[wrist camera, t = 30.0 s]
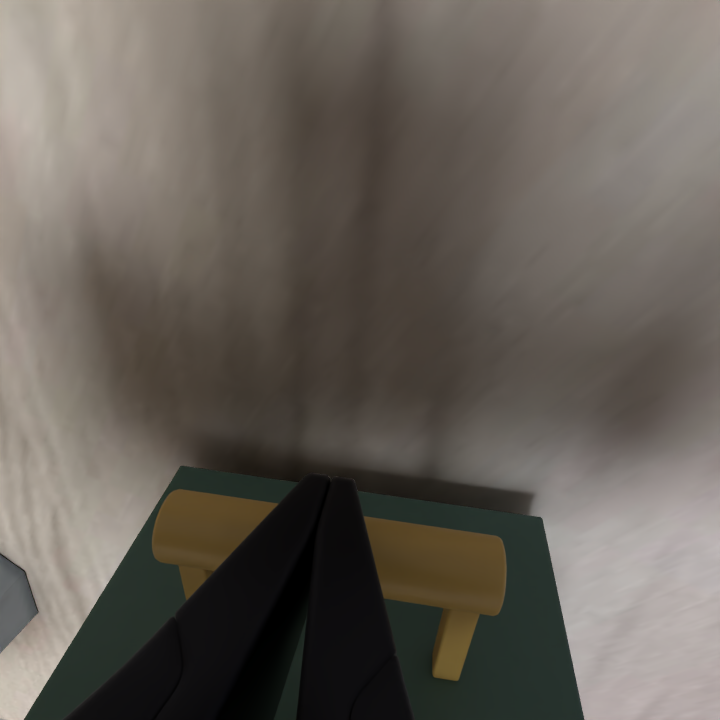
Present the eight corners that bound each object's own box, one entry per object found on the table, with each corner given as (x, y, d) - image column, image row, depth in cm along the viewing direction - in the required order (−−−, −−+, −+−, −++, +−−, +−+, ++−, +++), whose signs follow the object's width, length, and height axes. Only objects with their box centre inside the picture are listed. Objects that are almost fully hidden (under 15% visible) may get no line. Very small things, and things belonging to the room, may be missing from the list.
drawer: (159, 353, 14) (-90, 627, 7) (583, 405, 13) (727, 776, 6) (220, 676, 24) (134, 921, 17) (467, 720, 22) (477, 999, 16)
